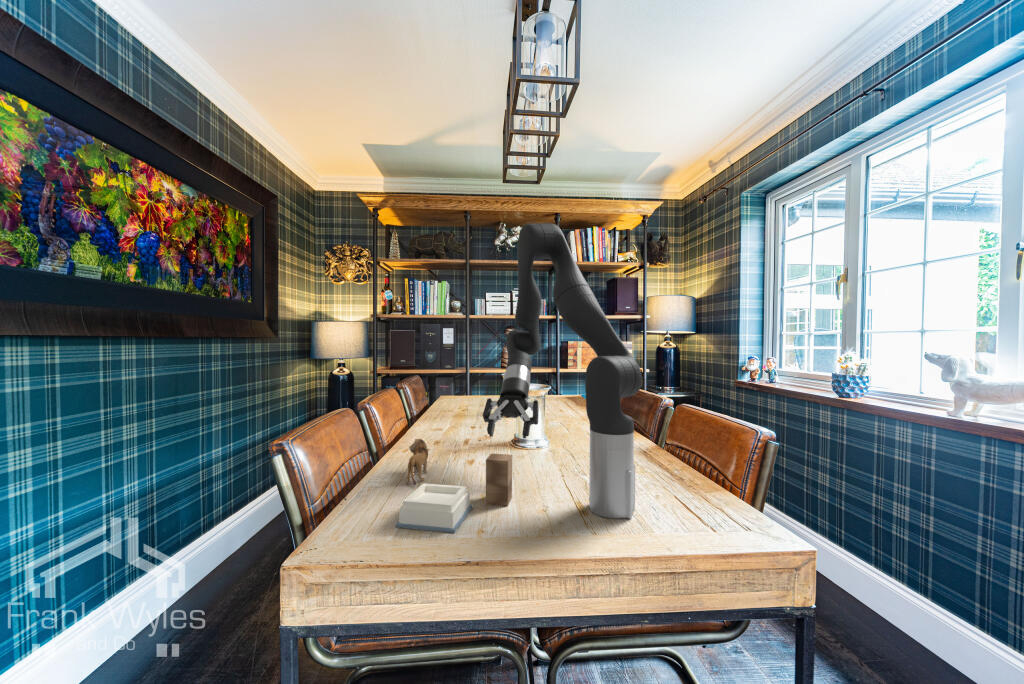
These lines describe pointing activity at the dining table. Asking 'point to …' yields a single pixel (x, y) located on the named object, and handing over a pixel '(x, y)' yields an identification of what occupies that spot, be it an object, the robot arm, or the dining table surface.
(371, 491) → the dining table surface
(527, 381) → the robot arm
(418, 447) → the lion figurine
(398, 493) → the dining table surface
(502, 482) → the walnut column
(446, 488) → the pedestal base
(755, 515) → the dining table surface
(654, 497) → the dining table surface
